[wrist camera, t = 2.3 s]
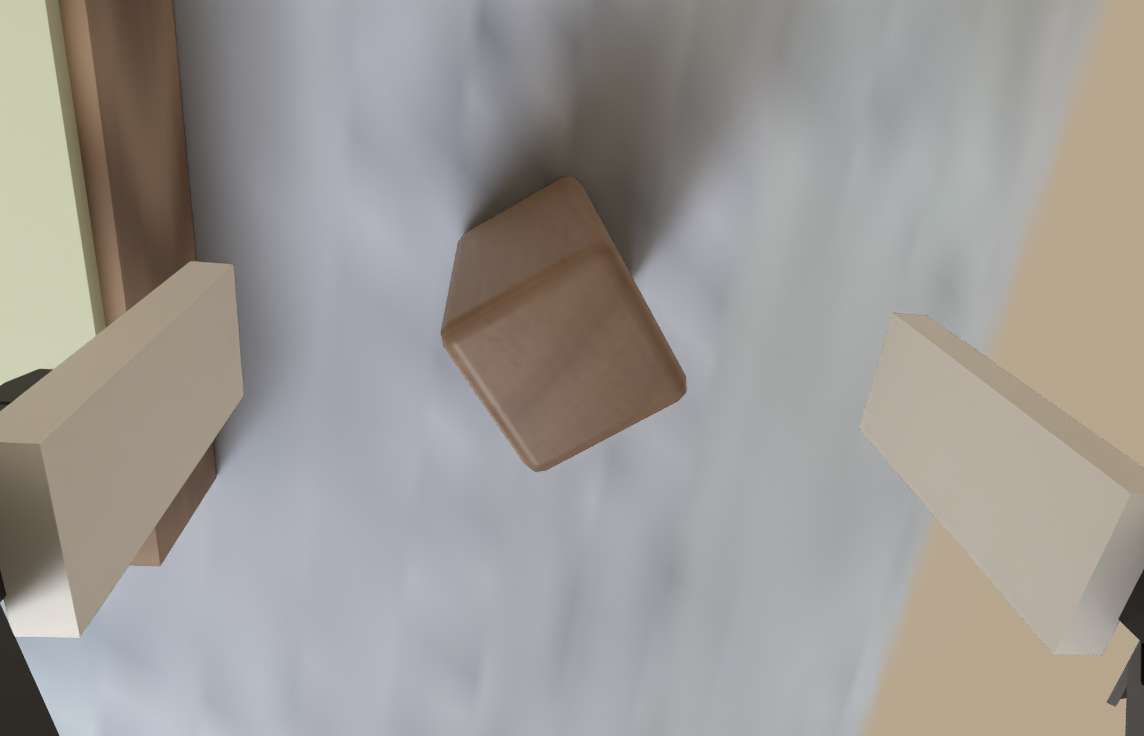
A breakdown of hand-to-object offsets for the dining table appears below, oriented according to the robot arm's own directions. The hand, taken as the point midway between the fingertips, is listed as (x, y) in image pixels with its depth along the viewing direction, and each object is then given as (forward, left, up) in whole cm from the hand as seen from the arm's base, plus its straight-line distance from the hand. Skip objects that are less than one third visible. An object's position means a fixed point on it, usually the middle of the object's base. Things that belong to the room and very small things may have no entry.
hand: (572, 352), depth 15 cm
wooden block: (0, 0, -8) cm, 8 cm away
